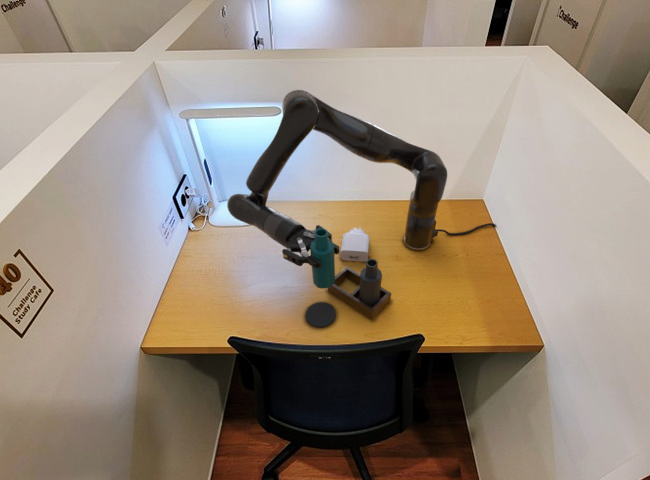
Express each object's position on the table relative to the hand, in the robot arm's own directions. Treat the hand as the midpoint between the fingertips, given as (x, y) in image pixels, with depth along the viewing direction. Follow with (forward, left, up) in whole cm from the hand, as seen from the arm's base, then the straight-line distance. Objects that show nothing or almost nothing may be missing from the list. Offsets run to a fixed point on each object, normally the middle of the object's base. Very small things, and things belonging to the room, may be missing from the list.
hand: (329, 258), depth 93 cm
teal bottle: (+1, -2, -10) cm, 10 cm away
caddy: (-10, -2, -23) cm, 26 cm away
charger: (-21, -22, -24) cm, 39 cm away
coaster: (+3, -1, -23) cm, 24 cm away
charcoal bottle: (-12, +2, -23) cm, 26 cm away
